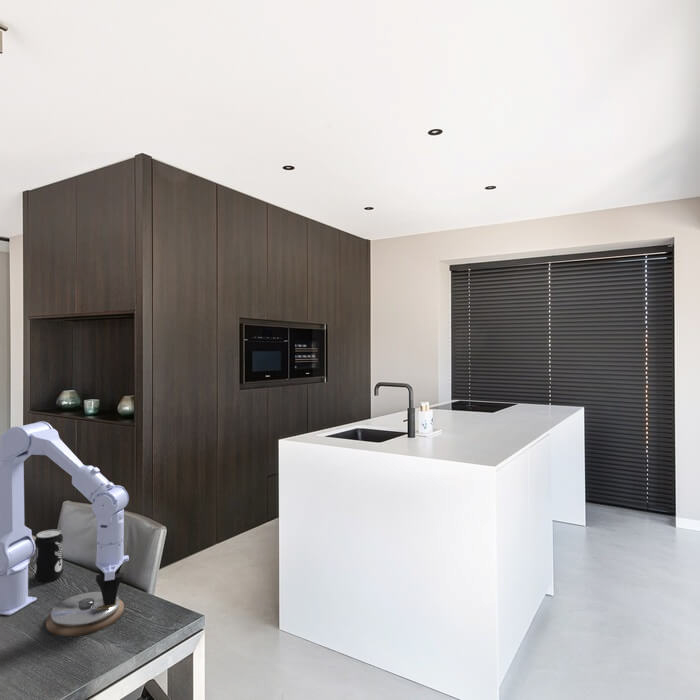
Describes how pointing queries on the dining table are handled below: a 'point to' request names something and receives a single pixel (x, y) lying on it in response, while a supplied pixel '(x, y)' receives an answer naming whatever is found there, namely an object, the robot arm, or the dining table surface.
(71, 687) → the dining table surface
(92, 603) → the handwheel
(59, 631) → the wheel base
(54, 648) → the dining table surface
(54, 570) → the beverage can
